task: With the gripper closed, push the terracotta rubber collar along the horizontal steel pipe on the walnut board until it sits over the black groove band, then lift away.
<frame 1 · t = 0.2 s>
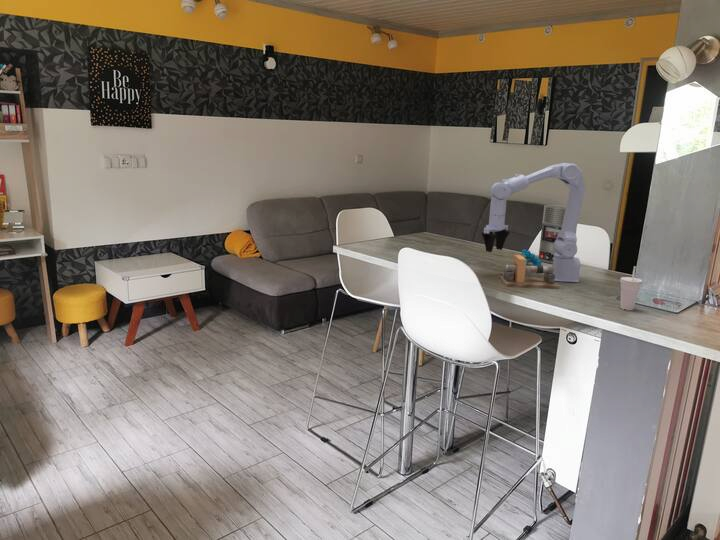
hand: (494, 250, 212), 10 cm above the table, fingers open, 7 cm apart
smoothie: (626, 309, 178), on the table
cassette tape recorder: (554, 263, 244), on the table
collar: (518, 268, 205), point 5 cm above the table, slide at 0.0 cm
pipe rig: (528, 283, 206), on the table
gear: (529, 267, 236), on the table
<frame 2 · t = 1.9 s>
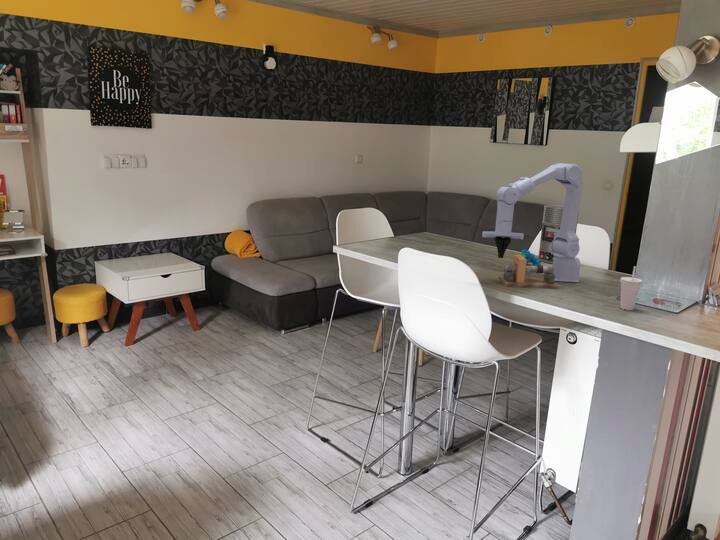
hand: (500, 257, 204), 9 cm above the table, fingers closed
nothing on the table moved.
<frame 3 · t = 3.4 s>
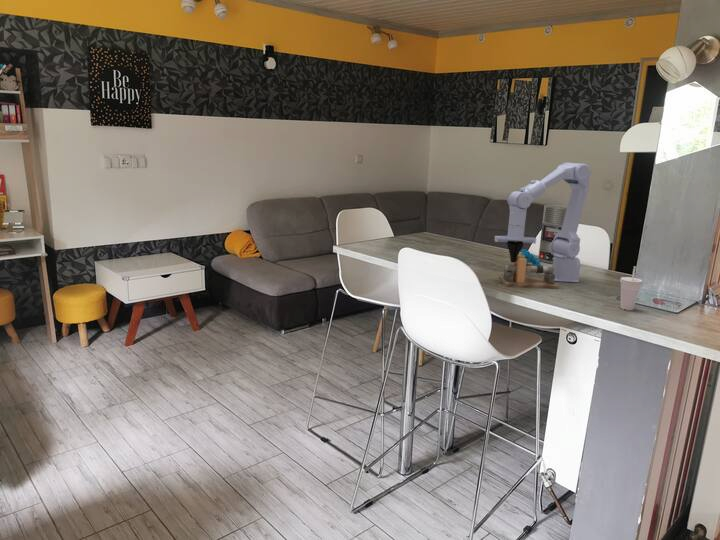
hand: (512, 261, 204), 8 cm above the table, fingers closed
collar: (518, 268, 205), point 5 cm above the table, slide at 0.1 cm, touching gripper
everything else where it was.
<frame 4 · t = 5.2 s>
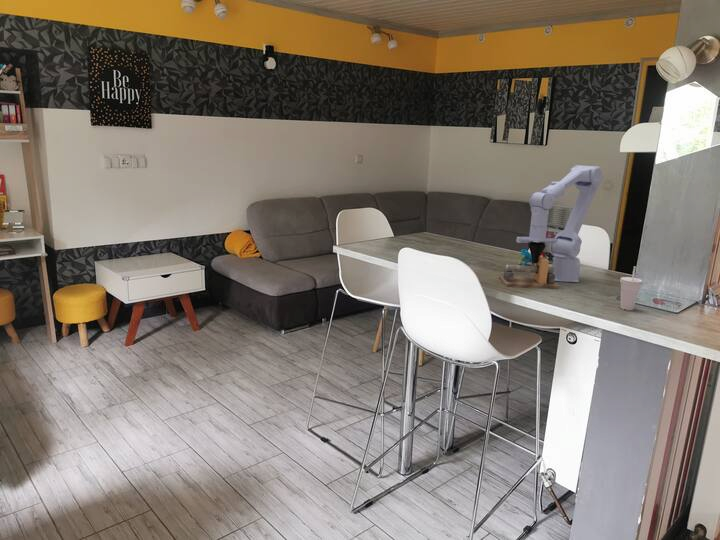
hand: (534, 262, 204), 8 cm above the table, fingers closed
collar: (540, 269, 204), point 6 cm above the table, slide at 8.0 cm, touching gripper
everything else where it was.
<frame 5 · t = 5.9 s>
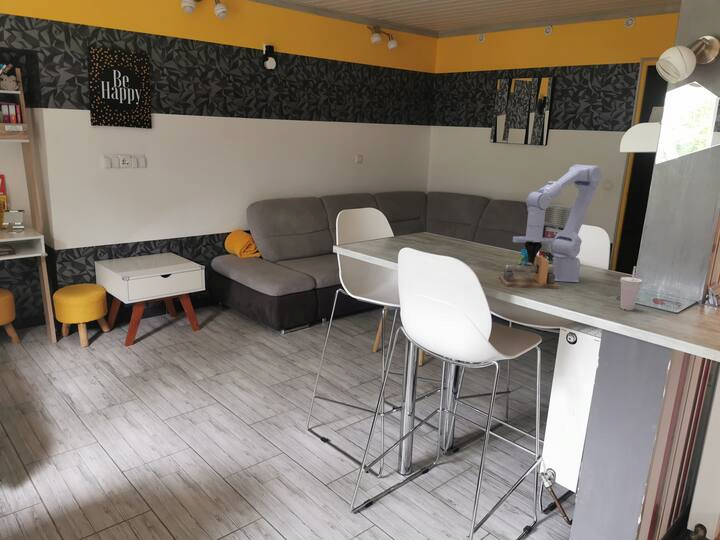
hand: (530, 262, 204), 8 cm above the table, fingers closed
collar: (540, 269, 204), point 6 cm above the table, slide at 8.0 cm
everything else where it was.
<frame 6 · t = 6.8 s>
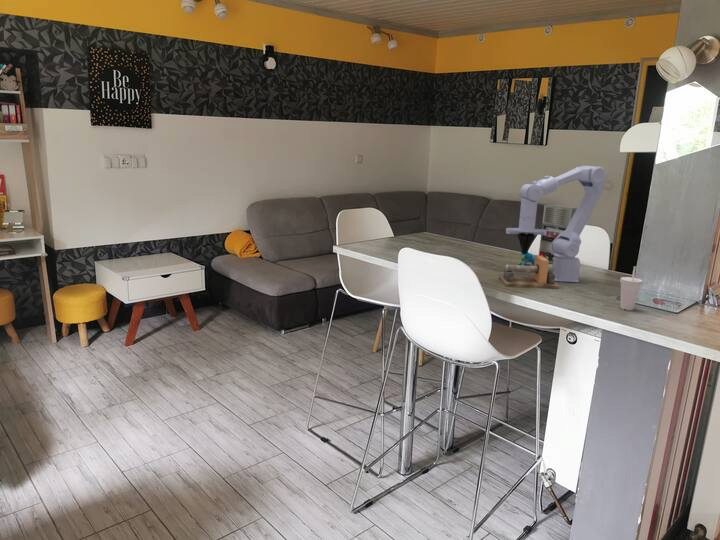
hand: (523, 253, 208), 10 cm above the table, fingers closed
nothing on the table moved.
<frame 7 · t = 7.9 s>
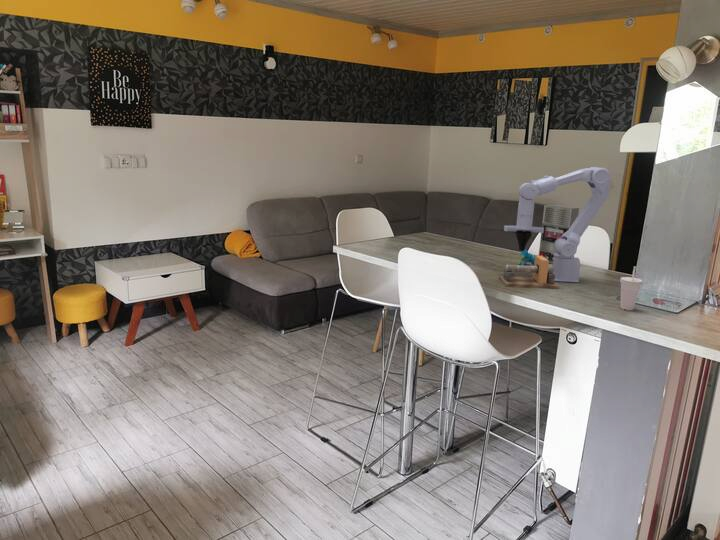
hand: (521, 250, 213), 10 cm above the table, fingers closed
nothing on the table moved.
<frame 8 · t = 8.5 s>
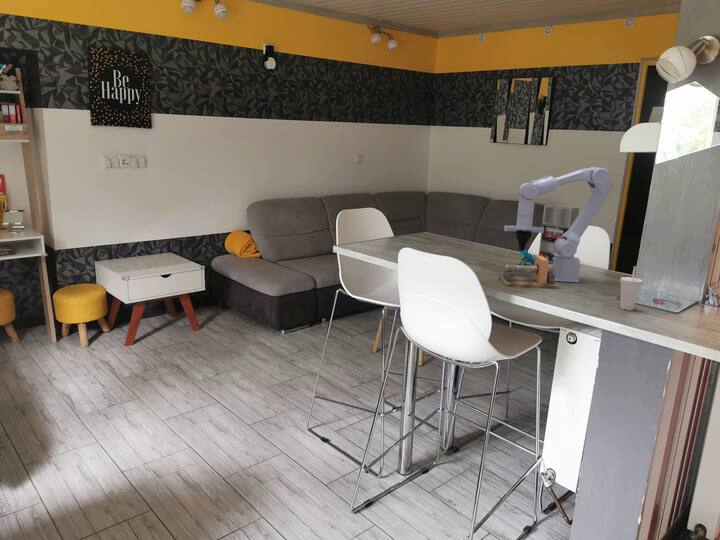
hand: (521, 250, 213), 10 cm above the table, fingers closed
nothing on the table moved.
at the end: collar slide at 8.0 cm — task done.
